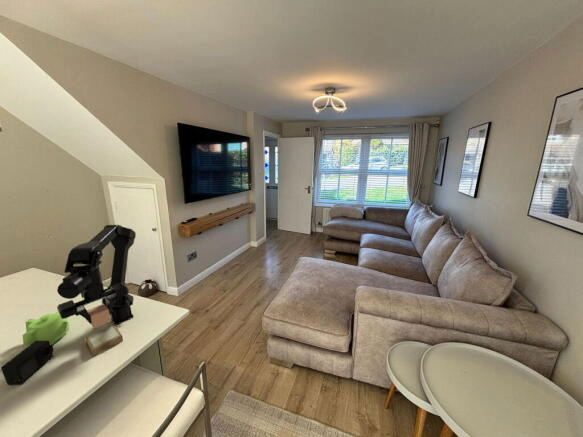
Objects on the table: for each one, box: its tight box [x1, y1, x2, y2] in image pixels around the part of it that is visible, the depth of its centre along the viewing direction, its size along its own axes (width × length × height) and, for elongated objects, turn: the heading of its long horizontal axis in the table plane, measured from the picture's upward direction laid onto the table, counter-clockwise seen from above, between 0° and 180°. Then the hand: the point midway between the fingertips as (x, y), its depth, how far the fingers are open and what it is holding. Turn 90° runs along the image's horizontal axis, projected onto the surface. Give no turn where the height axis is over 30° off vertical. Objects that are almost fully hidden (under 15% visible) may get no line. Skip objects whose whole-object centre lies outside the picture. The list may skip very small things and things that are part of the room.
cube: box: [86, 303, 112, 329], centre depth 86 cm, size 5×5×5 cm
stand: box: [84, 323, 124, 357], centre depth 88 cm, size 9×9×3 cm
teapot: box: [22, 311, 71, 346], centre depth 88 cm, size 12×12×10 cm
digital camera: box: [0, 341, 55, 386], centre depth 76 cm, size 10×5×7 cm, turn 1°
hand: (99, 319), depth 86 cm, fingers closed on cube, 5 cm apart
